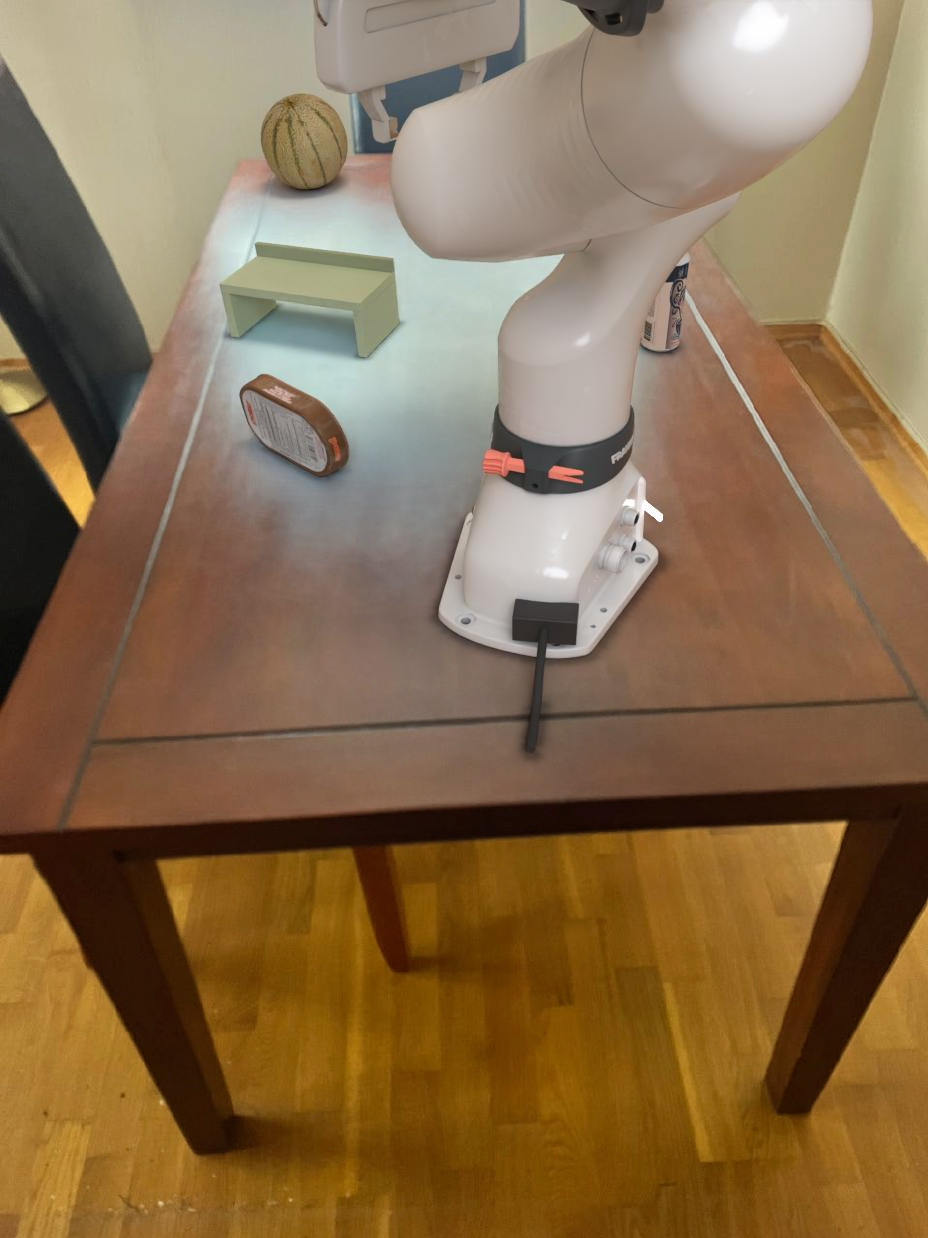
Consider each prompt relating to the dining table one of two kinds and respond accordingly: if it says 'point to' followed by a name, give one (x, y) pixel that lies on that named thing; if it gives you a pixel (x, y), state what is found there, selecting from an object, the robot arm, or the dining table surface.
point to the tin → (294, 425)
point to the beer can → (667, 311)
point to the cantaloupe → (304, 141)
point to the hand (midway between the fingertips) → (426, 127)
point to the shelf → (315, 289)
